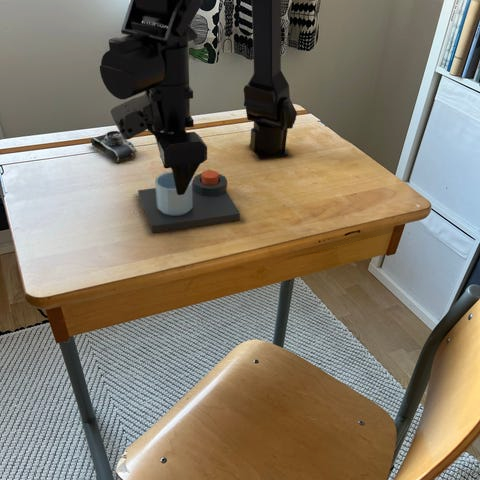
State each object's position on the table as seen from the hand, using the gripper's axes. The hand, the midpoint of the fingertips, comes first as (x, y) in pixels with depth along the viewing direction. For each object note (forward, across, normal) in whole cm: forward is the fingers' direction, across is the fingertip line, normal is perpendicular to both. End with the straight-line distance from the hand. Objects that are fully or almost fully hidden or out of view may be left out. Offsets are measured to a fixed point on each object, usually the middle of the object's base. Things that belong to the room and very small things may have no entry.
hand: (173, 180), depth 83 cm
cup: (+5, 0, 0) cm, 5 cm away
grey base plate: (+6, -2, +3) cm, 7 cm away
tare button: (+4, -5, +8) cm, 10 cm away
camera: (+7, -27, -6) cm, 28 cm away
